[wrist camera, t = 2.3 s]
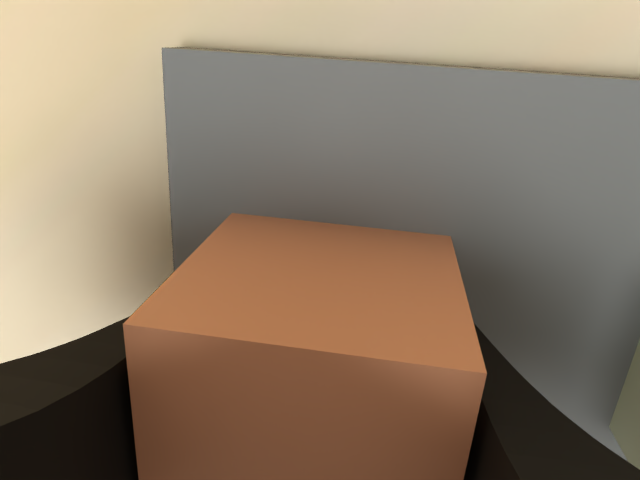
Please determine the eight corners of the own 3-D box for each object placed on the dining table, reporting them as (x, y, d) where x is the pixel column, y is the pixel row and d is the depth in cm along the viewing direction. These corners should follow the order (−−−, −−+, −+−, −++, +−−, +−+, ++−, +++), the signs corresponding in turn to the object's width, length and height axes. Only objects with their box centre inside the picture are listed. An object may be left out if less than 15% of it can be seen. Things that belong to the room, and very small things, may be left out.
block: (420, 415, 13) (432, 621, 8) (233, 388, 14) (147, 566, 9) (450, 236, 11) (486, 373, 6) (231, 212, 12) (122, 323, 7)
